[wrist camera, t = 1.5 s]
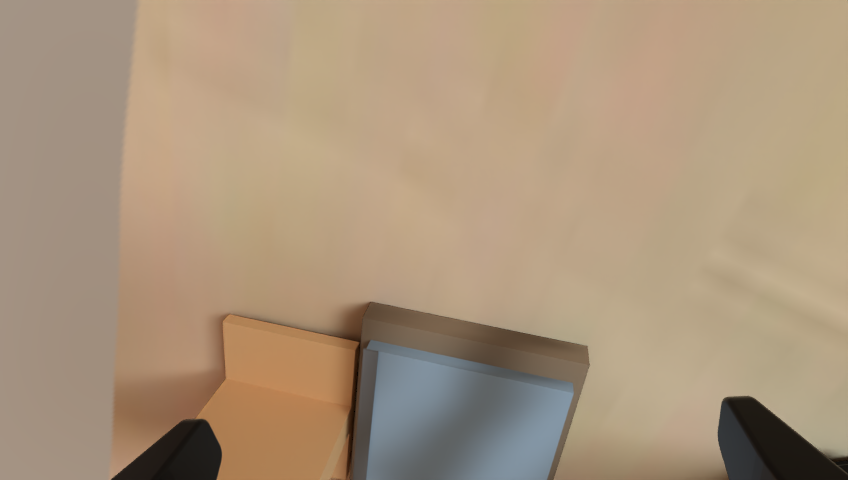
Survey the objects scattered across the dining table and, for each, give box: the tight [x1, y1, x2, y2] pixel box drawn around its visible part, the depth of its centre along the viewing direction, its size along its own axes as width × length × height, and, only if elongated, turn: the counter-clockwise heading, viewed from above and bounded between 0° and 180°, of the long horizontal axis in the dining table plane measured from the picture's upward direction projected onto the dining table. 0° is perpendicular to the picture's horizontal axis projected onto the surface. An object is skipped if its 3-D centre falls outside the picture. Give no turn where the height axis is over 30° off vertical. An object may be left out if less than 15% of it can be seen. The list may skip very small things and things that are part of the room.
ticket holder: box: [350, 302, 590, 480], centre depth 25 cm, size 9×12×2 cm
